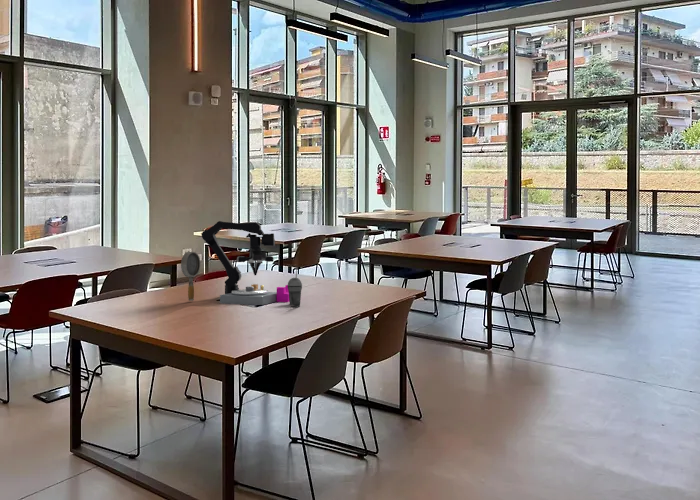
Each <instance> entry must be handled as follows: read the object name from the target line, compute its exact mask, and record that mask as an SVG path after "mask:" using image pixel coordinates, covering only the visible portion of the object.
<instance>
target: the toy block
mask: <svg viewBox="0 0 700 500" xmlns="http://www.w3.org/2000/svg"><path fill="white" fill-rule="evenodd" d="M287 285H288V284H285V286H277V287H276V292H277V301H276V302H278V303H290V302H289V291H288V286H287Z"/></svg>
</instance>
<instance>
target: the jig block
mask: <svg viewBox="0 0 700 500" xmlns="http://www.w3.org/2000/svg"><path fill="white" fill-rule="evenodd" d="M275 302H277V291H268V293H267V294H262V295H235V294H232V293H229V294H225V293H223V294H220V295H219V304H227V305H228V304H230V305H231V304H233V305H234V304H235V305H255V306H258V305H259V306H264V305H268V304H272V303H275Z"/></svg>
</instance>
